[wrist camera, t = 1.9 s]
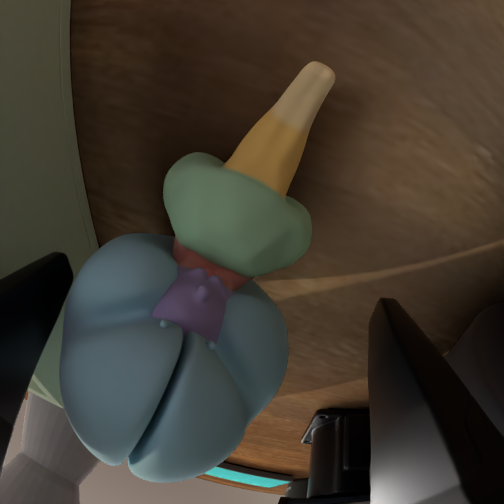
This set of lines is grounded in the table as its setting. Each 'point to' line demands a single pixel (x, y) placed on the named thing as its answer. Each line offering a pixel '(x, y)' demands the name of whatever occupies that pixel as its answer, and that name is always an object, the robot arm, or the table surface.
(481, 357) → the binoculars
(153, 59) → the table surface
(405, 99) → the table surface
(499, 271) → the table surface
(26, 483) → the lamp
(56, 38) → the bin
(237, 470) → the smartphone
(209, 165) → the toy flower bud
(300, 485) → the pen holder
